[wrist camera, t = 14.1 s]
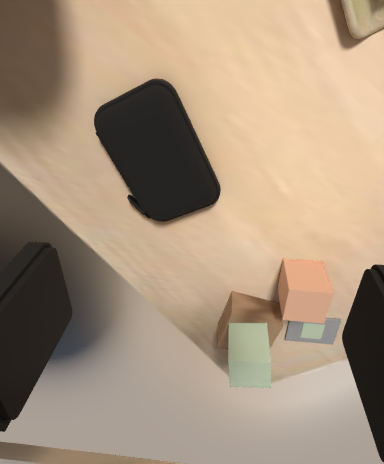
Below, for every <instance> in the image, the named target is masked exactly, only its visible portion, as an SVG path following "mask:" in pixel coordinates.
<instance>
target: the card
mask: <svg viewBox="0 0 384 464" xmlns="http://www.w3.org/2000/svg"><path fill="white" fill-rule="evenodd" d="M340 323H341V320H340V319H334V318H326V320H325V323H324V324H322V323H311V322H300V321H289V323H288V328H287V332H286V336H285V340H289V341H300V342H311V343H322V344H333V343H334V340H335V337H336V334H337V331H338V328H339V325H340Z"/></svg>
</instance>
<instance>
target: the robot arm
mask: <svg viewBox="0 0 384 464" xmlns="http://www.w3.org/2000/svg"><path fill="white" fill-rule="evenodd" d="M71 316H72V307H71V303H70V300H69V296H68V292H67V288H66V284H65V280H64V277H63V273H62V269H61V265H60V261H59V257H58V254H57V250H56V249H55V248H52V246H51V245H50V244H49V243H45V242H28V243H27V244H26V245H25V246H24V247H23V249H22V250H21V251H20V252H19V253H18V254H17V255H16V256H15V257H14V258H13V260H12V261H11V262H10V263H9V264H8V265H7V266H6V267H5V268H4V269H3V271H2V272H1V273H0V431H3V432H5V431H6V429H7V427H8V425H9V423H10V421H11V420H14V419H16V418H17V417H18V416H19V414H20V412H21V411H22V409H23V407H24V405H25V403H26V401H27V399H28V398H29V395H30V394H31V392H32V390H33V388H34V386H35V384H36V382H37V381H38V379H39V377H40V375H41V373H42V372H43V370H44V368H45V366H46V364H47V362H48V360H49V359H50V357H51V355H52V353H53V351H54V349H55V347H56V346H57V344H58V342H59V340H60V338H61V336H62V335H63V333H64V331H65V329H66V327H67V325H68V323H69V322H70V319H71ZM342 340H343V345H344V348H345V351H346V354H347V357H348V361H349V364H350V367H351V370H352V373H353V376H354V379H355V382H356V385H357V388H358V391H359V394H360V398H361V400H362V403H363V407H364V410H365V413H366V416H367V419H368V422H369V425H370V428H371V431H372V434H373V438H374V440H375V444H376V447H377V450H378V453H379V456H380V458H381V460H382V461H383V462H384V265H373V266H372V267H371V269H366V270H365V272H364V274H363V277H362V280H361V282H360V285H359V288H358V291H357V294H356V296H355V299H354V302H353V305H352V308H351V310H350V313H349V316H348V319H347V322H346V324H345V327H344V330H343V334H342ZM0 464H184V463H175V462H168V461H159V460H151V459H143V458H135V457H126V456H118V455H110V454H101V453H93V452H85V451H75V450H68V449H59V448H50V447H42V446H33V445H25V444H16V443H6V442H0Z"/></svg>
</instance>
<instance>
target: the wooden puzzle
mask: <svg viewBox="0 0 384 464" xmlns="http://www.w3.org/2000/svg"><path fill="white" fill-rule="evenodd" d="M341 3H342V7H343V10H344V14H345V18H346V22H347V26H348V29H349V32H350V34H351V35H352V37H353V38H355V39H361V38H364V37H367V36H368V35H370V34H372V33H374V32H376V31H378V30H380V29H382V28H384V0H341Z"/></svg>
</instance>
